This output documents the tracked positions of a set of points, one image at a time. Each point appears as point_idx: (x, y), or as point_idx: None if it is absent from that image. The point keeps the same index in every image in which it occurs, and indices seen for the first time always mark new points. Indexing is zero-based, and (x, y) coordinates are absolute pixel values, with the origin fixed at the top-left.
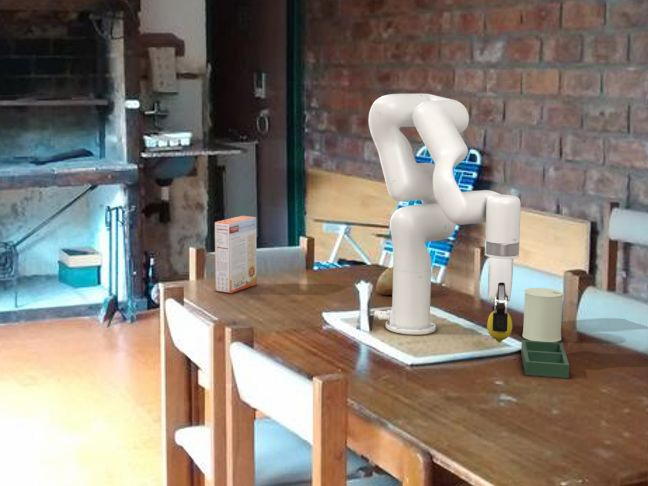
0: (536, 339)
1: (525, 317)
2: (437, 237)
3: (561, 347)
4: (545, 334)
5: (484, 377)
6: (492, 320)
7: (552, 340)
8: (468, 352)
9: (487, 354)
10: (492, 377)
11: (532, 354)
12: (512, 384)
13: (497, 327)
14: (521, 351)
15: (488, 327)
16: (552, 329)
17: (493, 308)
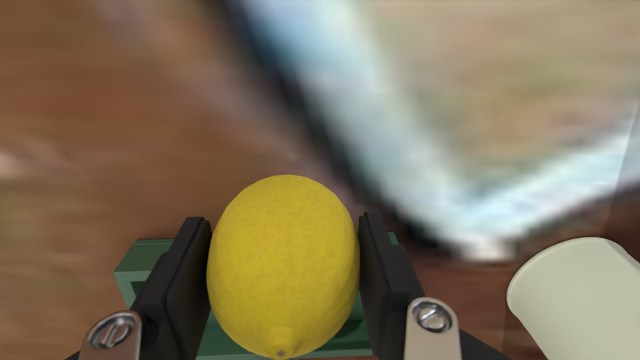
0: (522, 275)
1: (630, 299)
2: None
3: (335, 352)
4: (524, 310)
5: (18, 113)
6: (217, 246)
7: (512, 309)
8: (360, 42)
9: (347, 124)
10: (40, 142)
11: None
12: (4, 205)
13: (164, 254)
14: None
15: (248, 192)
16: (534, 339)
17: (379, 288)
